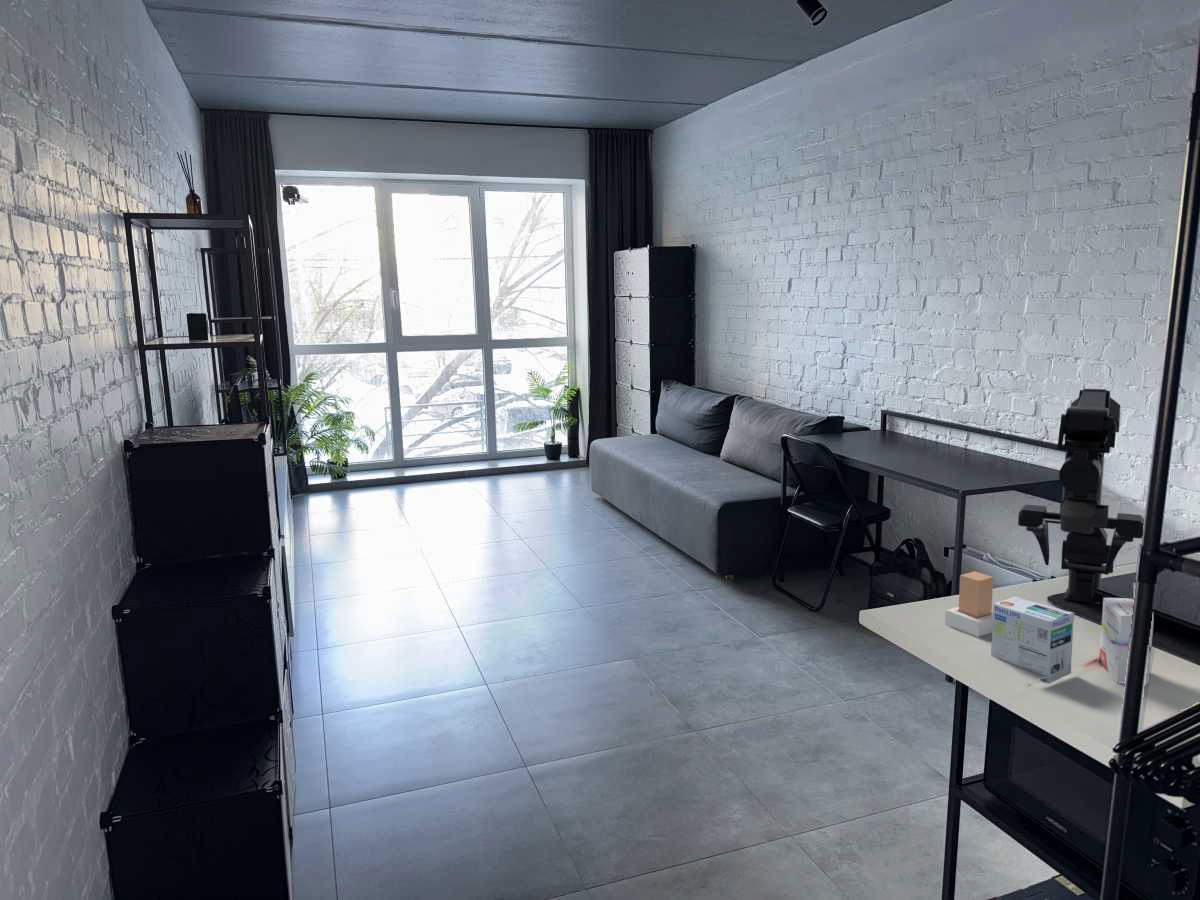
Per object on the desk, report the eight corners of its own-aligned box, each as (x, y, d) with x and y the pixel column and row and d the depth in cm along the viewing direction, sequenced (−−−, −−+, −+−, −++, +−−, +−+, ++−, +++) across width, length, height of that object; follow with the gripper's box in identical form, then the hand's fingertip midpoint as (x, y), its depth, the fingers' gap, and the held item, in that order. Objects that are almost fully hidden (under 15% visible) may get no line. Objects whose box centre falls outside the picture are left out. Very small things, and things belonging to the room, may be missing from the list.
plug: (972, 620, 163) (974, 571, 161) (990, 627, 159) (993, 577, 158) (957, 625, 161) (960, 575, 159) (976, 632, 157) (978, 581, 156)
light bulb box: (1072, 673, 142) (1076, 612, 140) (1048, 684, 139) (1052, 621, 137) (1012, 652, 151) (1015, 594, 149) (988, 662, 148) (991, 602, 146)
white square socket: (970, 617, 165) (971, 602, 164) (1004, 629, 159) (1004, 614, 158) (944, 625, 162) (945, 610, 161) (977, 637, 155) (978, 622, 155)
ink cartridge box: (1096, 661, 146) (1102, 579, 144) (1128, 663, 145) (1135, 580, 143) (1115, 684, 138) (1122, 597, 135) (1149, 686, 137) (1157, 598, 134)
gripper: (1016, 485, 145) (1011, 573, 148) (1146, 496, 135) (1138, 590, 138) (1024, 473, 154) (1020, 556, 157) (1147, 482, 144) (1139, 571, 147)
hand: (1076, 568), depth 150 cm, fingers open, 9 cm apart
